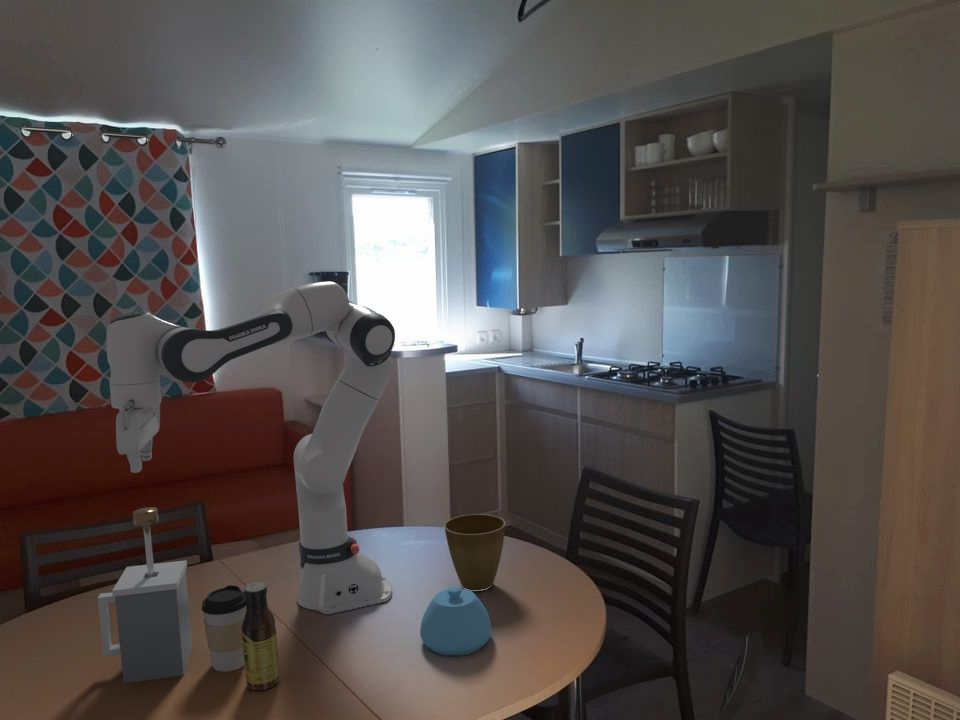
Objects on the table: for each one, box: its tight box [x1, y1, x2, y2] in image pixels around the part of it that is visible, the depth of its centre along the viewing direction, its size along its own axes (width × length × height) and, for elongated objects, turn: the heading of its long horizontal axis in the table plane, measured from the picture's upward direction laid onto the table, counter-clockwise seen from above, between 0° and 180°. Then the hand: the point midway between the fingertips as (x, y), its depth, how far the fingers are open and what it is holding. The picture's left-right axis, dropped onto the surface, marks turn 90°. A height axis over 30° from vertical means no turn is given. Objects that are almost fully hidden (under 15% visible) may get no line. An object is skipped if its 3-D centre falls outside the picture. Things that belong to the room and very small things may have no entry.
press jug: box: [97, 560, 193, 685], centre depth 149 cm, size 16×12×19 cm
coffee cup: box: [201, 584, 247, 673], centre depth 150 cm, size 9×9×15 cm
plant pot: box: [443, 513, 506, 590], centre depth 182 cm, size 15×15×16 cm
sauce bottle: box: [241, 581, 280, 691], centre depth 142 cm, size 7×6×20 cm
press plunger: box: [132, 506, 159, 578], centre depth 148 cm, size 4×4×21 cm
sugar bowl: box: [419, 586, 493, 656], centre depth 156 cm, size 15×15×12 cm
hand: (141, 465), depth 146 cm, fingers open, 7 cm apart
